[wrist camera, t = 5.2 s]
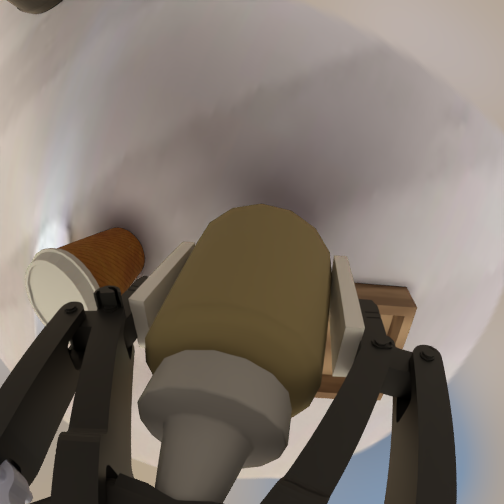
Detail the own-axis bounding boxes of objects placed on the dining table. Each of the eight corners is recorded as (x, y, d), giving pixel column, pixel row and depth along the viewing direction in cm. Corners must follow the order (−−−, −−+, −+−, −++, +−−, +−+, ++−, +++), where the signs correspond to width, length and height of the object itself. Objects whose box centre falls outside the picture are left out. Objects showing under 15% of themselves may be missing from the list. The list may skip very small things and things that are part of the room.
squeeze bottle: (322, 303, 22) (314, 570, 5) (214, 294, 23) (98, 521, 7) (333, 193, 18) (416, 523, 2) (208, 187, 20) (-35, 393, 3)
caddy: (171, 263, 32) (155, 280, 28) (406, 287, 28) (417, 307, 25) (182, 354, 37) (170, 374, 33) (376, 377, 33) (380, 400, 30)
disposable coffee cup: (107, 197, 31) (29, 232, 20) (171, 248, 31) (109, 307, 21) (82, 256, 34) (18, 302, 23) (138, 303, 35) (83, 364, 24)
